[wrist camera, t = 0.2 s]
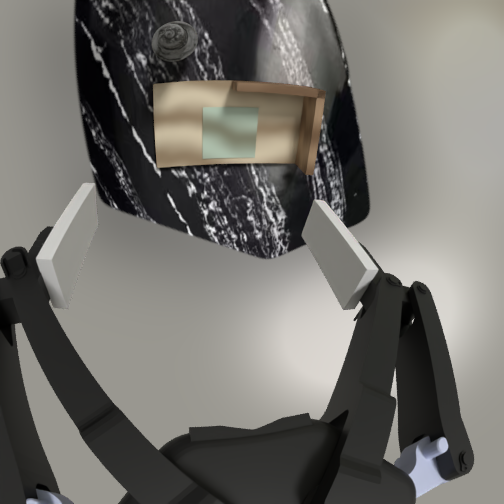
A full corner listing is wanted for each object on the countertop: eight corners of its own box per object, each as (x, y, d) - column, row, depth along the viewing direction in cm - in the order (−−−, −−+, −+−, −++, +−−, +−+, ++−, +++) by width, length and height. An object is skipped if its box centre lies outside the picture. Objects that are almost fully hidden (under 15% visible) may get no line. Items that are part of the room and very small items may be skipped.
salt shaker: (177, 69, 31) (170, 70, 22) (146, 48, 27) (128, 40, 18) (206, 40, 29) (212, 29, 20) (175, 18, 26) (169, -2, 16)
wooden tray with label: (153, 83, 31) (148, 86, 27) (310, 86, 36) (325, 91, 32) (157, 166, 39) (153, 179, 35) (300, 162, 44) (313, 174, 40)
